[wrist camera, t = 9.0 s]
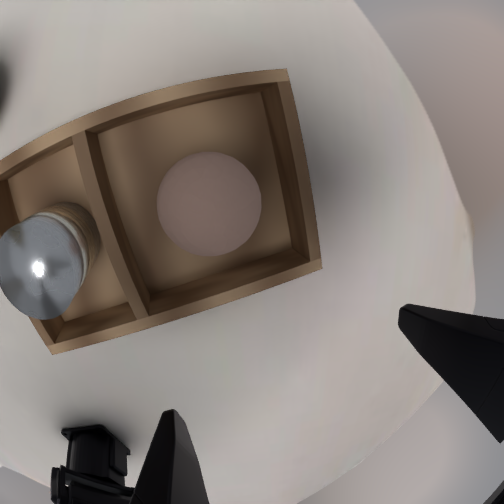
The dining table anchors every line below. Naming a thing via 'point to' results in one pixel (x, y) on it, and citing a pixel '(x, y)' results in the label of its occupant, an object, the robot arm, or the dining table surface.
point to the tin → (48, 259)
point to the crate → (145, 201)
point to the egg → (209, 204)
